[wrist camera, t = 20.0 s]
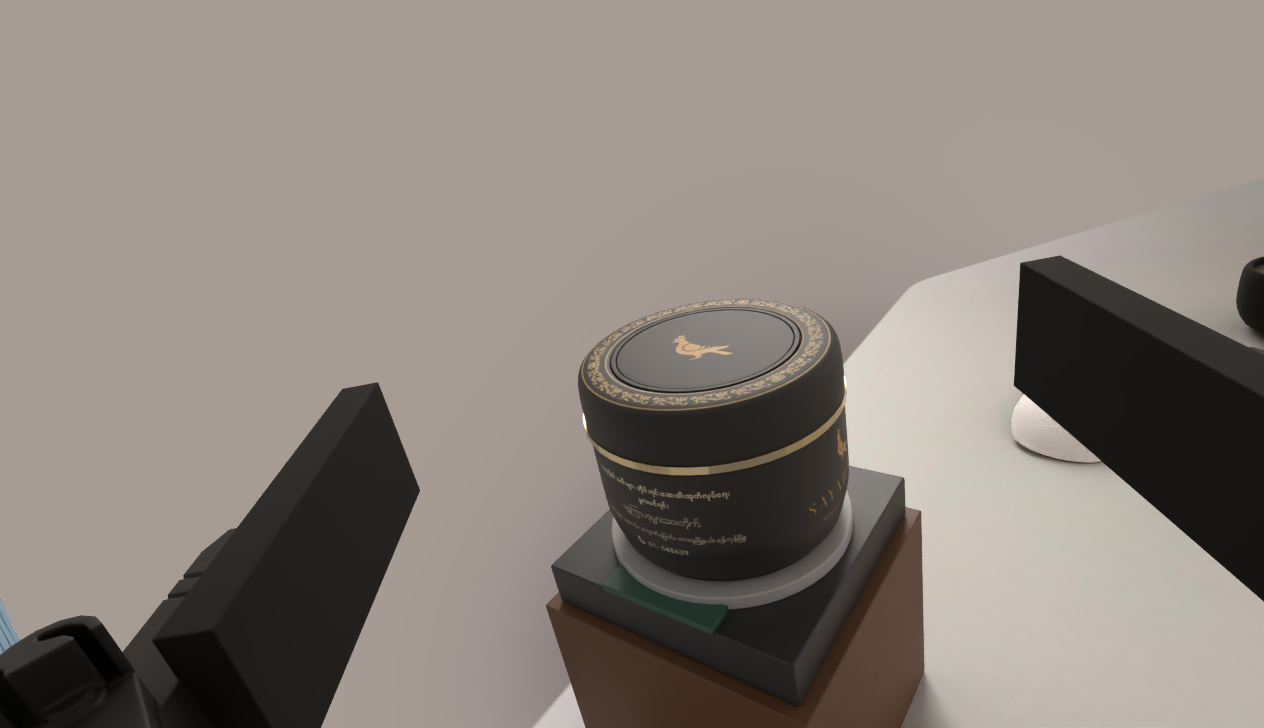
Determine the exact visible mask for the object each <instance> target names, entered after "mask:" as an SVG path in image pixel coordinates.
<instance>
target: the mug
mask: <svg viewBox="0 0 1264 728" xmlns="http://www.w3.org/2000/svg"><path fill="white" fill-rule="evenodd" d="M1236 303H1237V309H1238V312H1239V315H1240V316H1241V318H1242V320H1243V321H1244V322H1245V324H1247V325H1248V326H1250V327H1251V328H1254V329H1256V330H1259V331H1261V332H1264V257H1260V258H1257V259H1254V260H1252V261H1250V262H1249V263H1248V264H1247V265H1246V266H1245V267H1244V269H1243V271H1242V274H1241V278H1240V281H1239V286H1238V292H1237V300H1236Z"/></svg>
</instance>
